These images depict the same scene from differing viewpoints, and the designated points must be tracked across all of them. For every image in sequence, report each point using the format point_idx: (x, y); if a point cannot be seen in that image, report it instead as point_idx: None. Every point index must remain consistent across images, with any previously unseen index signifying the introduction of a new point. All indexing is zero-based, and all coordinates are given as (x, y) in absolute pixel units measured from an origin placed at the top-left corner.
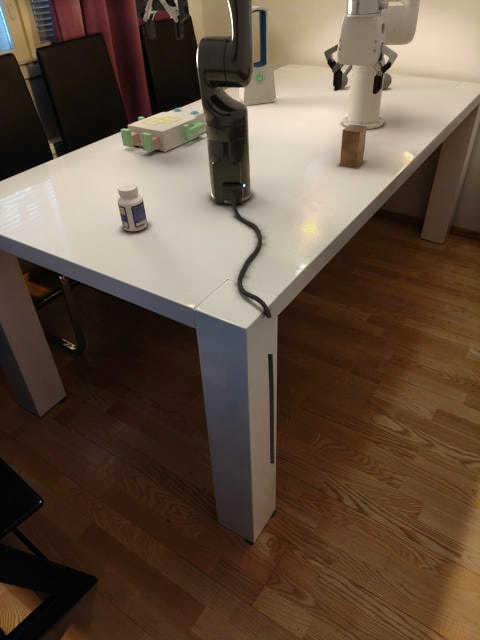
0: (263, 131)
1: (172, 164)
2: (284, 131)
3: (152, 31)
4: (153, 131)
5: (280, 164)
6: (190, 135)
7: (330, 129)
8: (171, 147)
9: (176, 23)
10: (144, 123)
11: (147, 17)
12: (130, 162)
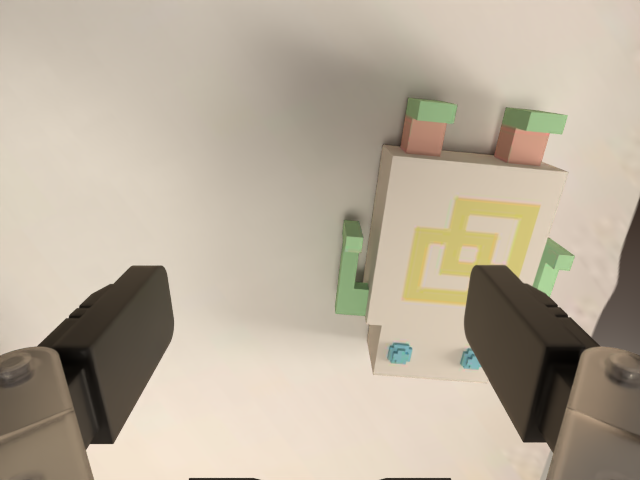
0: (220, 386)
1: (295, 61)
2: (170, 402)
3: (490, 327)
4: (436, 158)
5: (14, 192)
6: (343, 238)
7: None
8: (378, 175)
9: (54, 345)
10: (512, 210)
11: (588, 386)
12: (441, 15)
